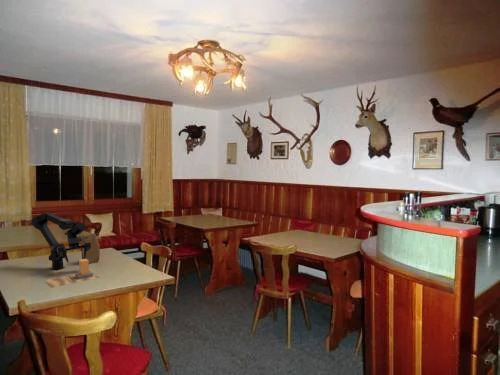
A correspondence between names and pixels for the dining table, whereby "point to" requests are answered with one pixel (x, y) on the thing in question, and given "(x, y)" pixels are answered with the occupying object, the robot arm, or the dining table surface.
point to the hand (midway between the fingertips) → (76, 260)
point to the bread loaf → (94, 252)
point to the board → (66, 280)
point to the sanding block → (83, 269)
